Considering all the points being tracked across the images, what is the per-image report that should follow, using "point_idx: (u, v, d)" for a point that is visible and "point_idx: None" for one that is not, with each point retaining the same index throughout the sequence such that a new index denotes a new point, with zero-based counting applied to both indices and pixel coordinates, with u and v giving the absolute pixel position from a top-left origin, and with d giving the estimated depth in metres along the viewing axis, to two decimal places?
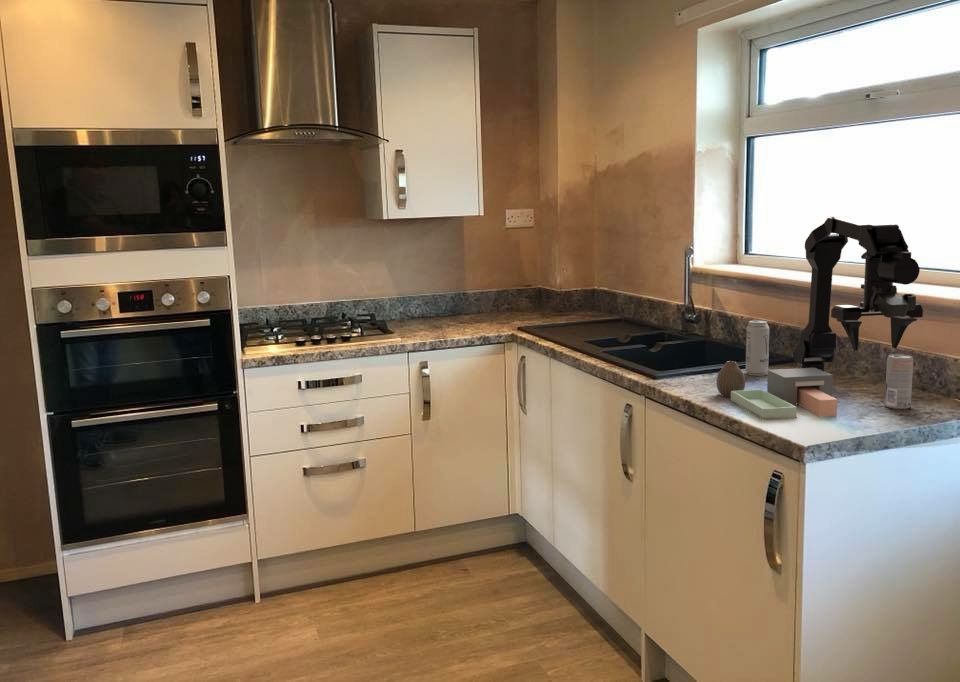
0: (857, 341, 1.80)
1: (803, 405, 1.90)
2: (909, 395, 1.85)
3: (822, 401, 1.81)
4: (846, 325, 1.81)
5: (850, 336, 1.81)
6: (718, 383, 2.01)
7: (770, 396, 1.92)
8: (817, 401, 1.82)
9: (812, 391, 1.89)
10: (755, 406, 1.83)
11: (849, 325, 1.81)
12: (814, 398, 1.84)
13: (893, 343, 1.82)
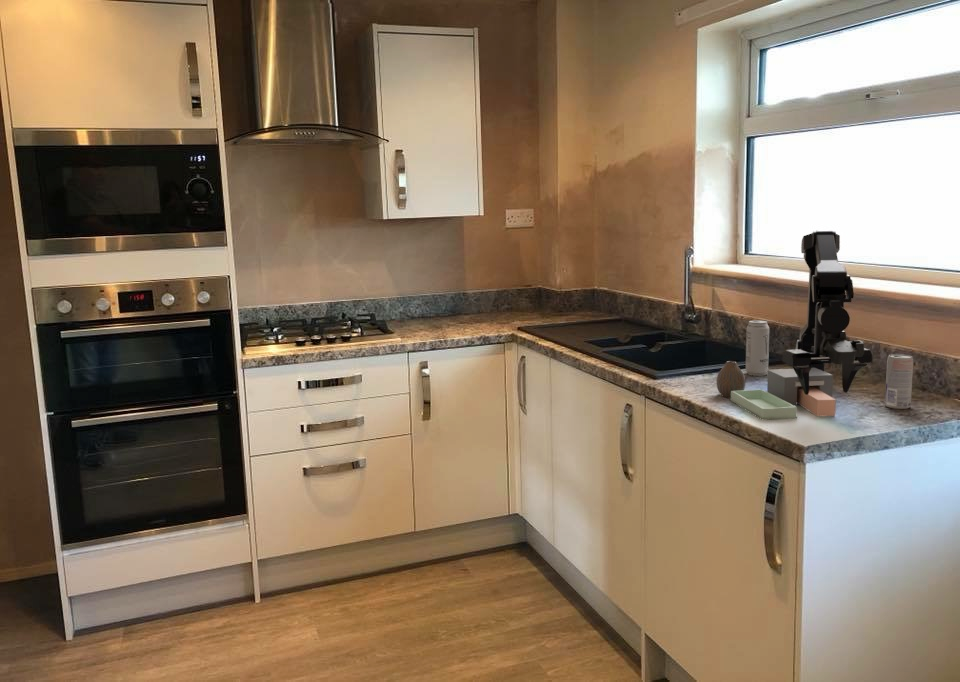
0: (808, 386, 1.81)
1: (803, 405, 1.90)
2: (909, 395, 1.85)
3: (820, 401, 1.81)
4: (797, 369, 1.83)
5: (801, 380, 1.82)
6: (718, 383, 2.01)
7: (770, 396, 1.92)
8: (815, 401, 1.82)
9: (812, 391, 1.89)
10: (755, 406, 1.83)
11: (800, 370, 1.82)
12: (813, 398, 1.84)
13: (844, 387, 1.83)
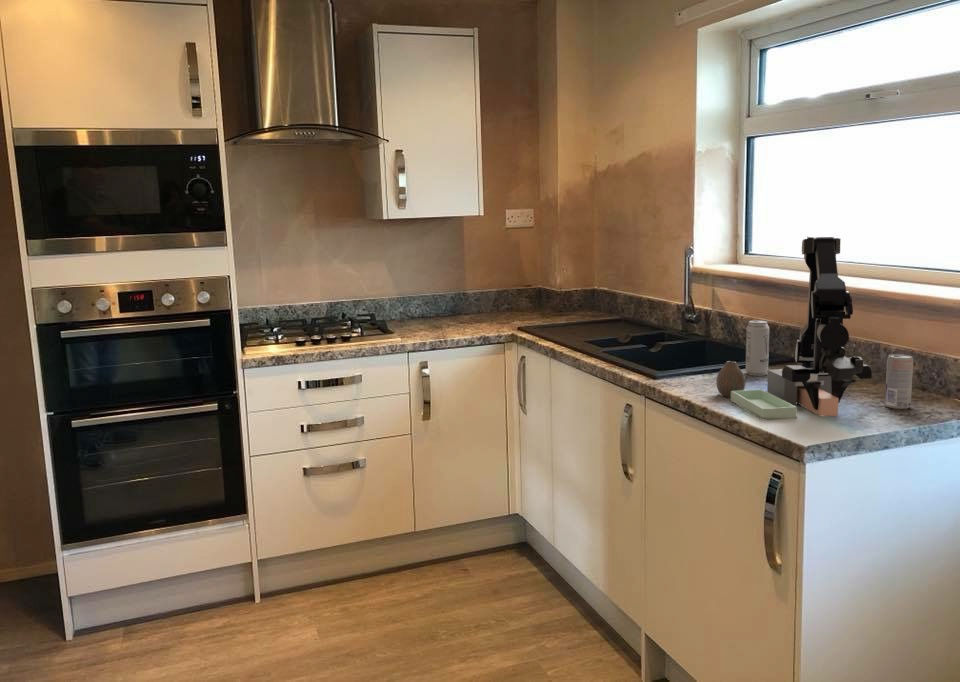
0: (817, 401, 1.82)
1: (804, 404, 1.90)
2: (909, 395, 1.85)
3: (823, 400, 1.81)
4: (807, 384, 1.84)
5: (810, 396, 1.83)
6: (718, 383, 2.01)
7: (770, 396, 1.92)
8: (819, 400, 1.82)
9: None
10: (755, 406, 1.83)
11: (809, 385, 1.83)
12: None
13: None
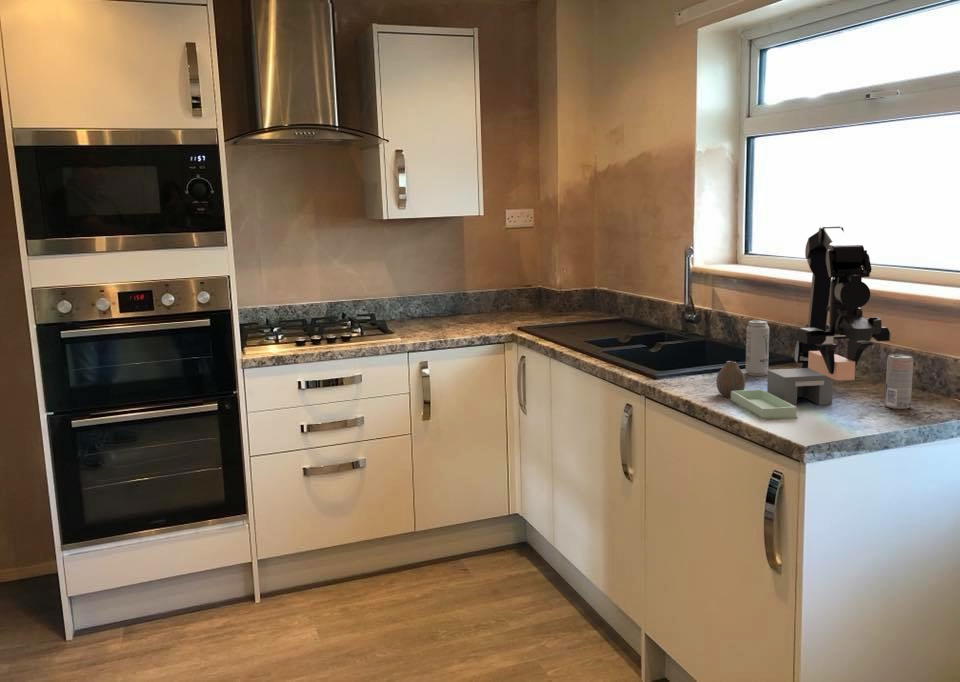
0: (833, 365, 1.75)
1: (819, 369, 1.82)
2: (909, 395, 1.85)
3: (839, 363, 1.73)
4: (822, 348, 1.76)
5: (826, 359, 1.76)
6: (718, 383, 2.01)
7: (770, 396, 1.92)
8: (834, 363, 1.74)
9: None
10: (755, 406, 1.83)
11: (825, 348, 1.76)
12: None
13: None
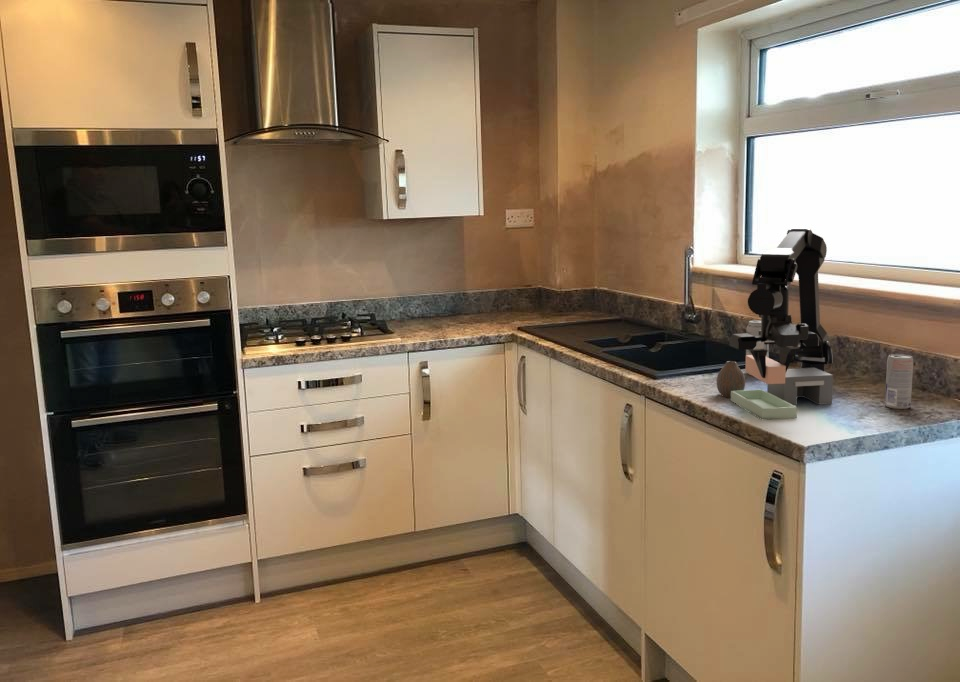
0: (764, 369, 1.81)
1: (754, 373, 1.89)
2: (909, 395, 1.85)
3: (770, 368, 1.80)
4: (754, 353, 1.83)
5: (758, 364, 1.82)
6: (718, 383, 2.01)
7: (770, 396, 1.92)
8: (766, 368, 1.81)
9: None
10: (755, 406, 1.83)
11: (757, 353, 1.82)
12: None
13: None
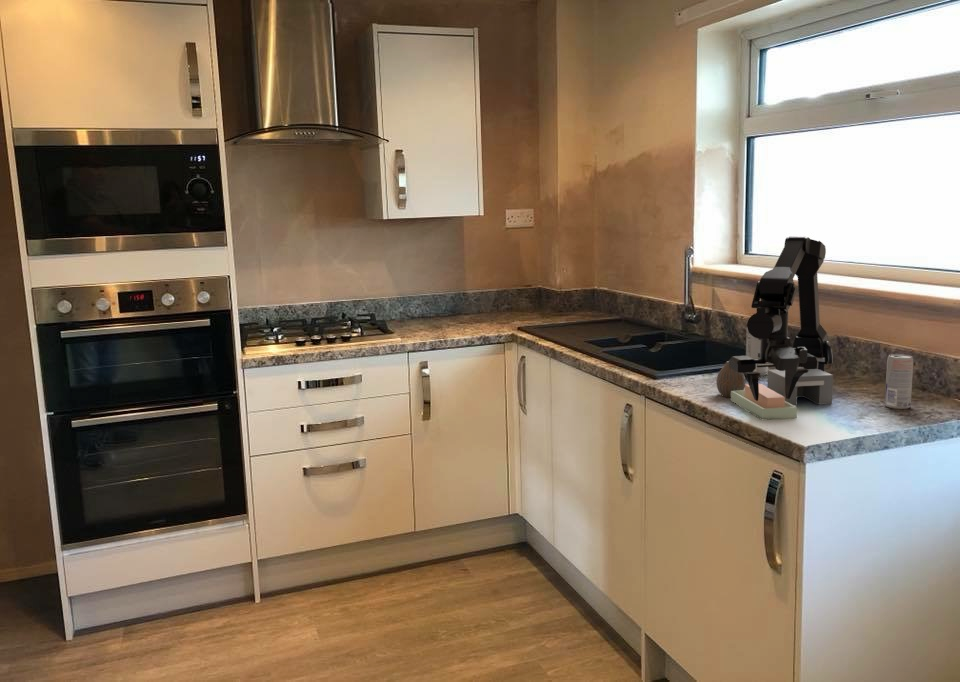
0: (757, 392, 1.82)
1: None
2: (909, 395, 1.85)
3: (769, 399, 1.81)
4: (747, 375, 1.84)
5: (751, 386, 1.83)
6: (718, 383, 2.01)
7: None
8: (765, 399, 1.82)
9: (762, 389, 1.89)
10: (755, 406, 1.83)
11: (750, 376, 1.83)
12: (762, 396, 1.84)
13: (786, 393, 1.84)
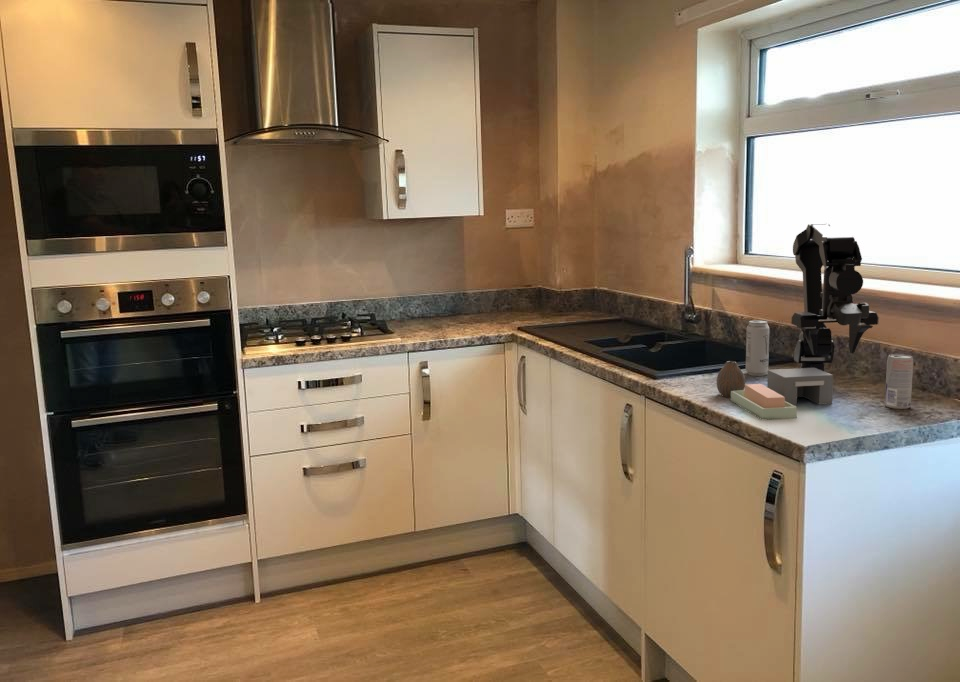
0: (815, 347, 1.91)
1: None
2: (909, 395, 1.85)
3: (769, 399, 1.81)
4: (805, 331, 1.92)
5: (809, 342, 1.92)
6: (718, 383, 2.01)
7: None
8: (765, 399, 1.82)
9: (762, 389, 1.89)
10: (755, 406, 1.83)
11: (808, 331, 1.92)
12: (762, 396, 1.84)
13: (850, 348, 1.92)
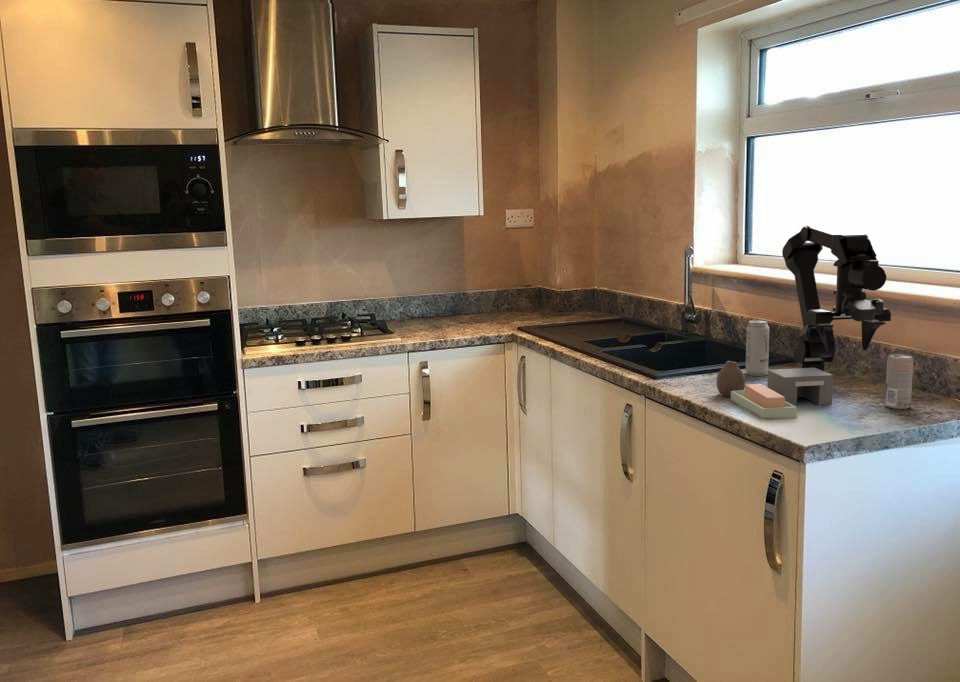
0: (829, 343, 1.92)
1: None
2: (909, 395, 1.85)
3: (769, 399, 1.81)
4: (819, 328, 1.94)
5: (823, 338, 1.93)
6: (718, 383, 2.01)
7: None
8: (765, 399, 1.82)
9: (762, 389, 1.89)
10: (755, 406, 1.83)
11: (822, 328, 1.93)
12: (762, 396, 1.84)
13: (863, 345, 1.94)
